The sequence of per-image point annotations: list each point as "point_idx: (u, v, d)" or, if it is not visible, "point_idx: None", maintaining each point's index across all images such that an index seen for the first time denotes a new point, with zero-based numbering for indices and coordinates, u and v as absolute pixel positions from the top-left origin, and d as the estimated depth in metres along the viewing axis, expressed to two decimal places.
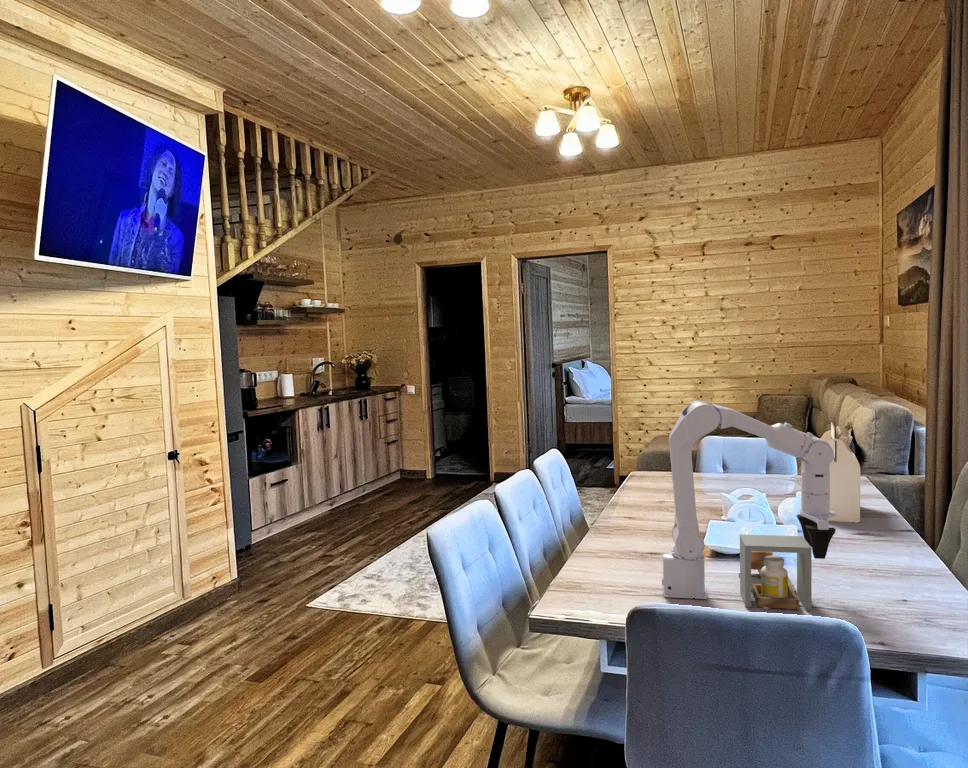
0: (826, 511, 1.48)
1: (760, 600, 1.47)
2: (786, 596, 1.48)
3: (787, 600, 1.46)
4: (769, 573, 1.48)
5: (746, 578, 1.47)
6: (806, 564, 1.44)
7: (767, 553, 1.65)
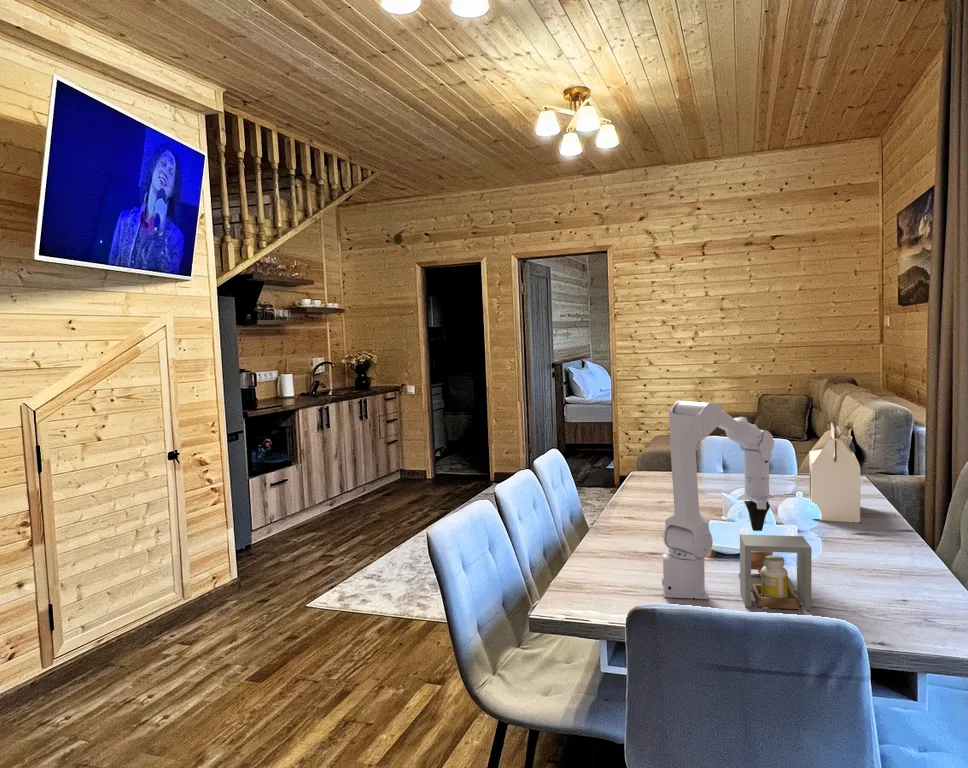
0: (766, 493, 1.68)
1: (760, 600, 1.47)
2: (786, 596, 1.48)
3: (787, 600, 1.46)
4: (769, 573, 1.48)
5: (746, 578, 1.47)
6: (806, 564, 1.44)
7: (767, 553, 1.65)
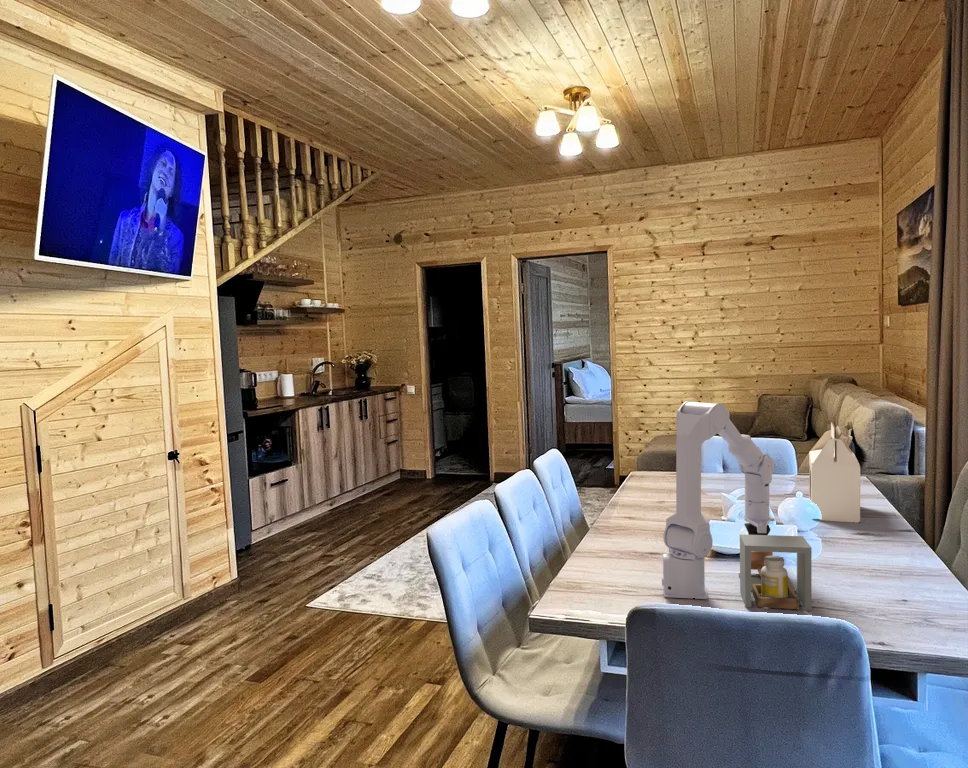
0: (766, 516, 1.69)
1: (760, 600, 1.47)
2: (786, 596, 1.48)
3: (787, 600, 1.46)
4: (769, 573, 1.48)
5: (746, 578, 1.47)
6: (806, 564, 1.44)
7: (767, 553, 1.65)
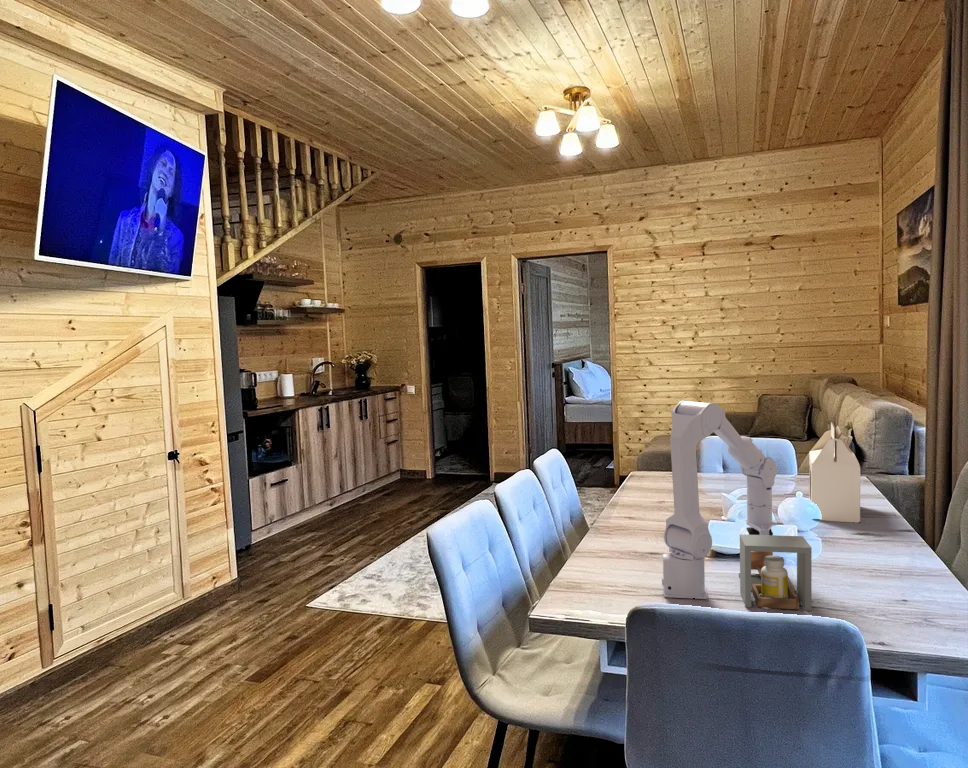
0: (768, 520, 1.65)
1: (760, 600, 1.47)
2: (786, 596, 1.48)
3: (788, 600, 1.45)
4: (769, 573, 1.48)
5: (746, 578, 1.47)
6: (806, 564, 1.44)
7: (767, 553, 1.65)
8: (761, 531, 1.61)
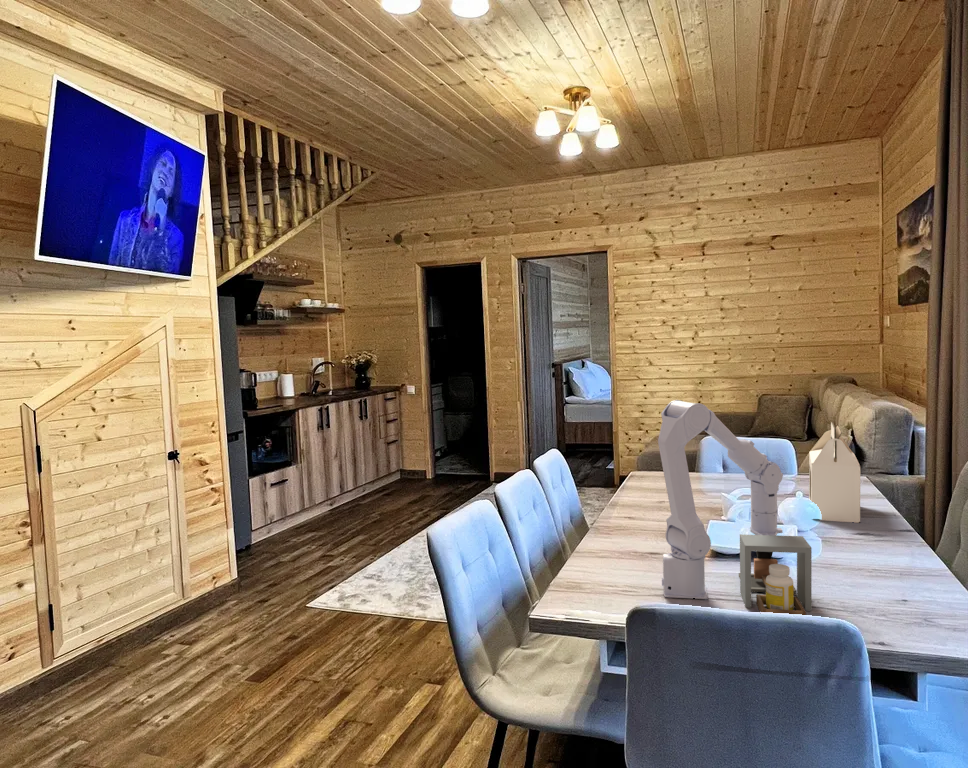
0: (773, 528, 1.59)
1: None
2: (792, 606, 1.43)
3: (794, 612, 1.39)
4: (775, 582, 1.42)
5: (746, 578, 1.47)
6: (806, 564, 1.44)
7: (772, 562, 1.59)
8: None
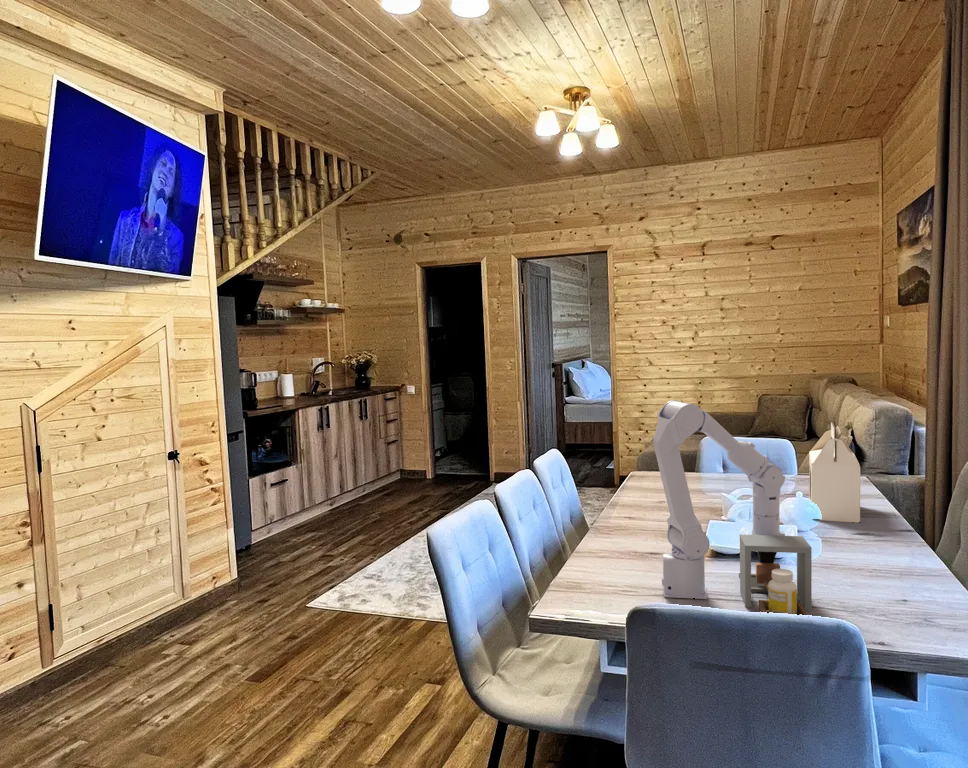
0: (776, 532, 1.56)
1: None
2: (795, 612, 1.40)
3: None
4: (778, 588, 1.39)
5: (746, 578, 1.47)
6: (806, 564, 1.44)
7: (774, 566, 1.56)
8: None
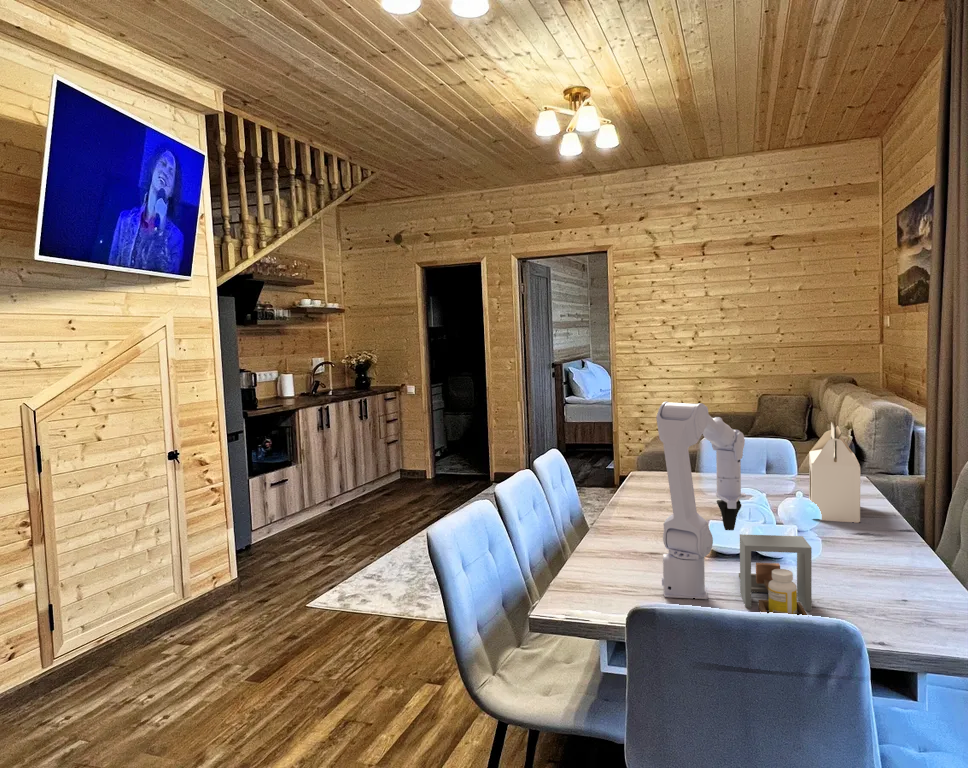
0: (737, 492, 1.69)
1: None
2: (795, 612, 1.40)
3: None
4: (778, 588, 1.39)
5: (746, 578, 1.47)
6: (806, 564, 1.44)
7: (774, 566, 1.56)
8: (728, 502, 1.65)
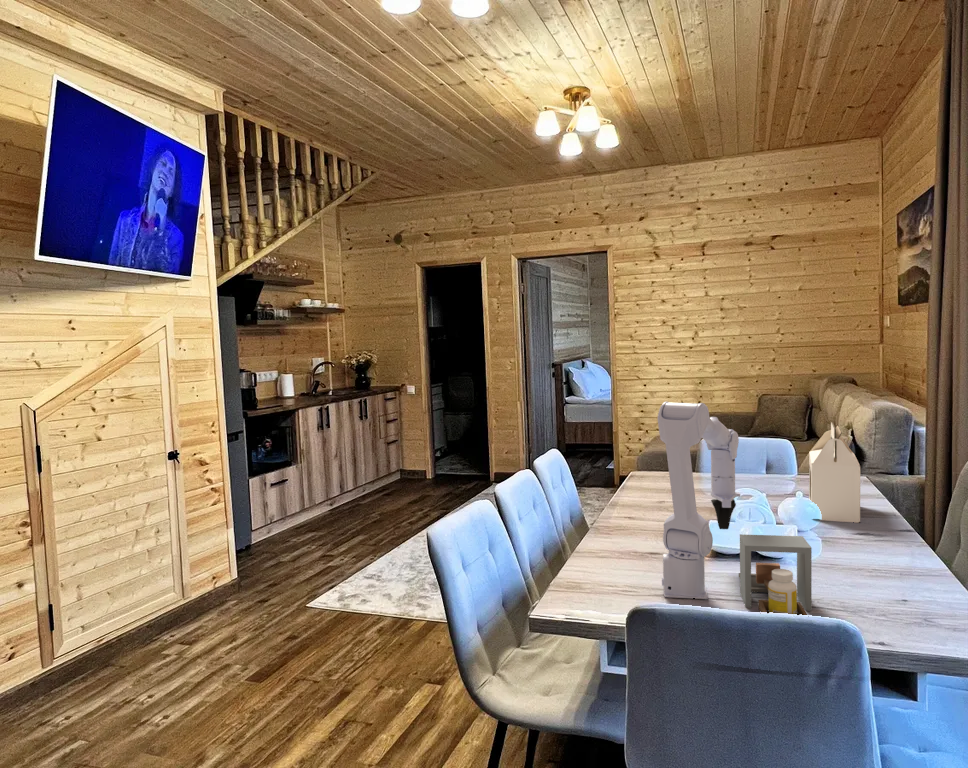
0: (731, 492, 1.70)
1: None
2: (795, 612, 1.40)
3: None
4: (778, 588, 1.39)
5: (746, 578, 1.47)
6: (806, 564, 1.44)
7: (774, 566, 1.56)
8: (723, 501, 1.66)
